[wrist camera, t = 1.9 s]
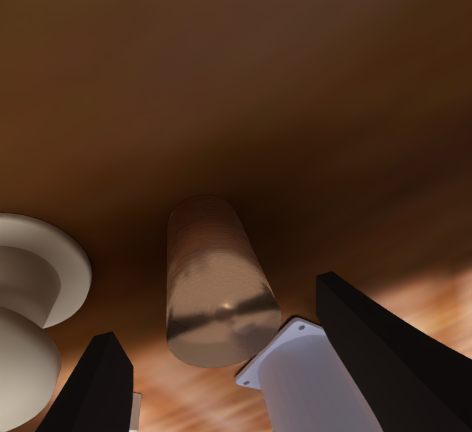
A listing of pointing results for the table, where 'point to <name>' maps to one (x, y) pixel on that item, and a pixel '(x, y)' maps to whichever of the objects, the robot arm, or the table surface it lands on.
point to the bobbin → (34, 310)
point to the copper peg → (215, 287)
